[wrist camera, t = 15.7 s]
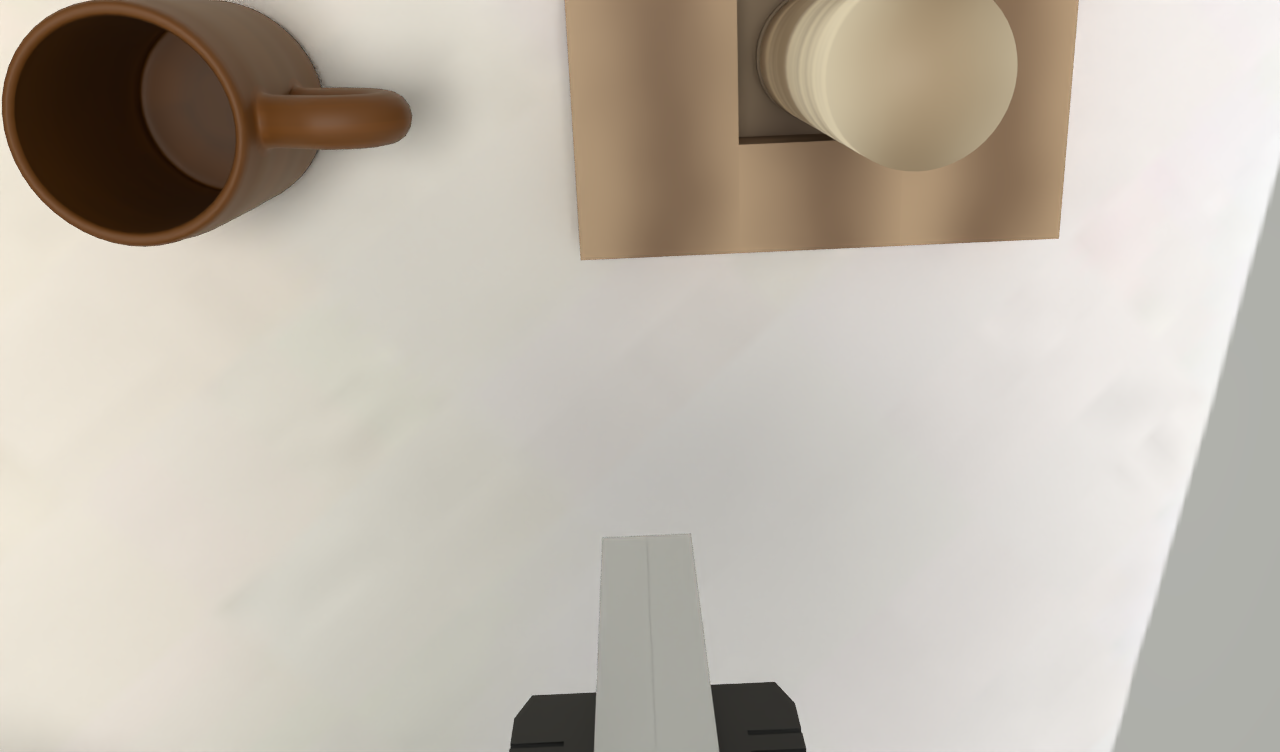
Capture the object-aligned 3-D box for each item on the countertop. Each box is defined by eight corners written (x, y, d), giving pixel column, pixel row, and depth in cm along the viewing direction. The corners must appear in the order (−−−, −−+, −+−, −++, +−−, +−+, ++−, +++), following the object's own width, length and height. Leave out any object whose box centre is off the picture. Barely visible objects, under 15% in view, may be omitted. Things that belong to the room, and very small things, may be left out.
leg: (749, 118, 41) (823, 177, 26) (747, -9, 40) (825, -25, 24) (868, 112, 41) (1012, 169, 26) (871, -15, 40) (1026, -34, 24)
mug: (438, -4, 40) (385, -9, 31) (451, 200, 42) (405, 248, 34) (115, 0, 40) (-31, -5, 31) (147, 203, 42) (20, 254, 33)
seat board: (583, 244, 43) (580, 260, 40) (560, -139, 39) (555, -151, 36) (1030, 223, 43) (1058, 238, 40) (1058, -162, 39) (1093, -176, 36)
